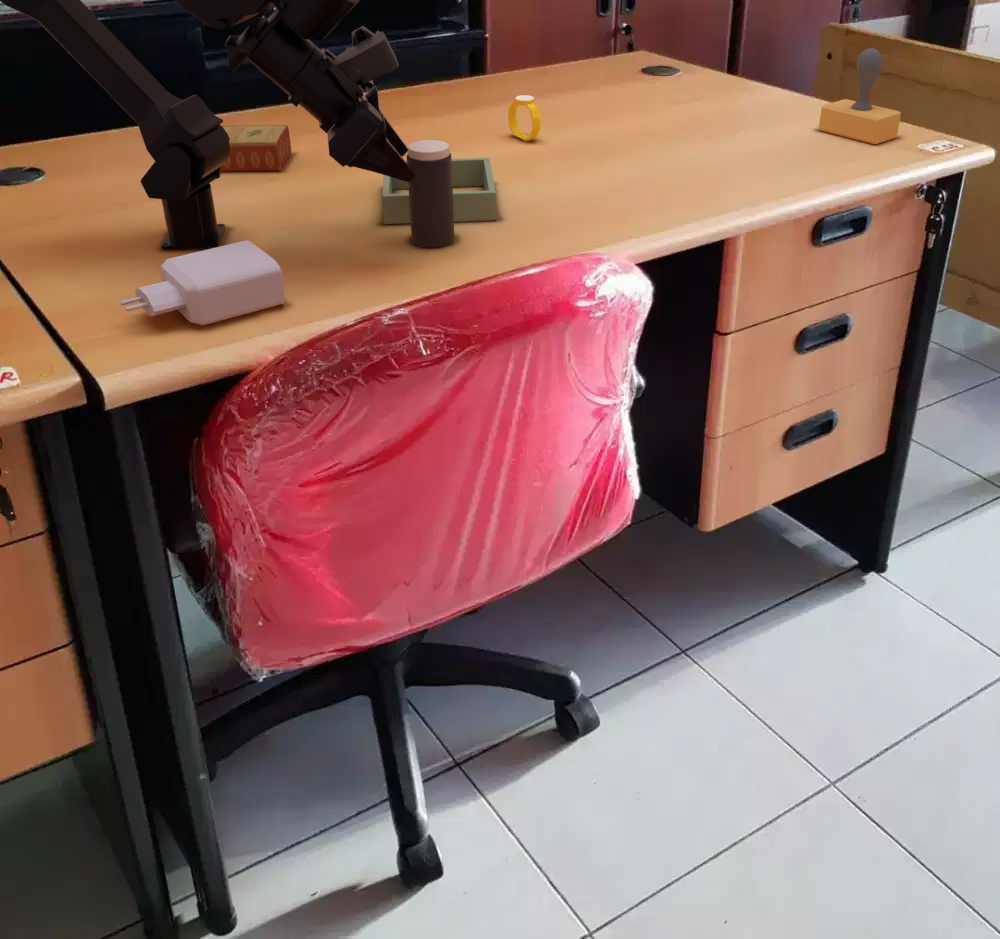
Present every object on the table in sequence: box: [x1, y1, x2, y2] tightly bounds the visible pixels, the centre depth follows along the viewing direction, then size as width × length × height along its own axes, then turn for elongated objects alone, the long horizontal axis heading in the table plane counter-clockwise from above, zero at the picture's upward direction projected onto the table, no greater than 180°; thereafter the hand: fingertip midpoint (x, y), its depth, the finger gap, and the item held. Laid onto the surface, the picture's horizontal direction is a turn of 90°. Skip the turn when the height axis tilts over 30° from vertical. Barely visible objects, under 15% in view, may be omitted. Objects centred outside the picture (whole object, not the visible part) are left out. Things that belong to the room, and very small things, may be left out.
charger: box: [119, 239, 286, 326], centre depth 109 cm, size 5×9×15 cm
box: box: [381, 157, 497, 225], centre depth 135 cm, size 14×14×4 cm
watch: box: [507, 94, 542, 142], centre depth 157 cm, size 6×3×6 cm, turn 38°
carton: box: [221, 124, 292, 172], centre depth 149 cm, size 8×16×4 cm, turn 89°
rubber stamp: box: [817, 47, 902, 145], centre depth 155 cm, size 10×6×12 cm, turn 40°
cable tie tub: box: [406, 139, 455, 249], centre depth 122 cm, size 5×5×11 cm
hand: (409, 165), depth 120 cm, fingers open, 9 cm apart
